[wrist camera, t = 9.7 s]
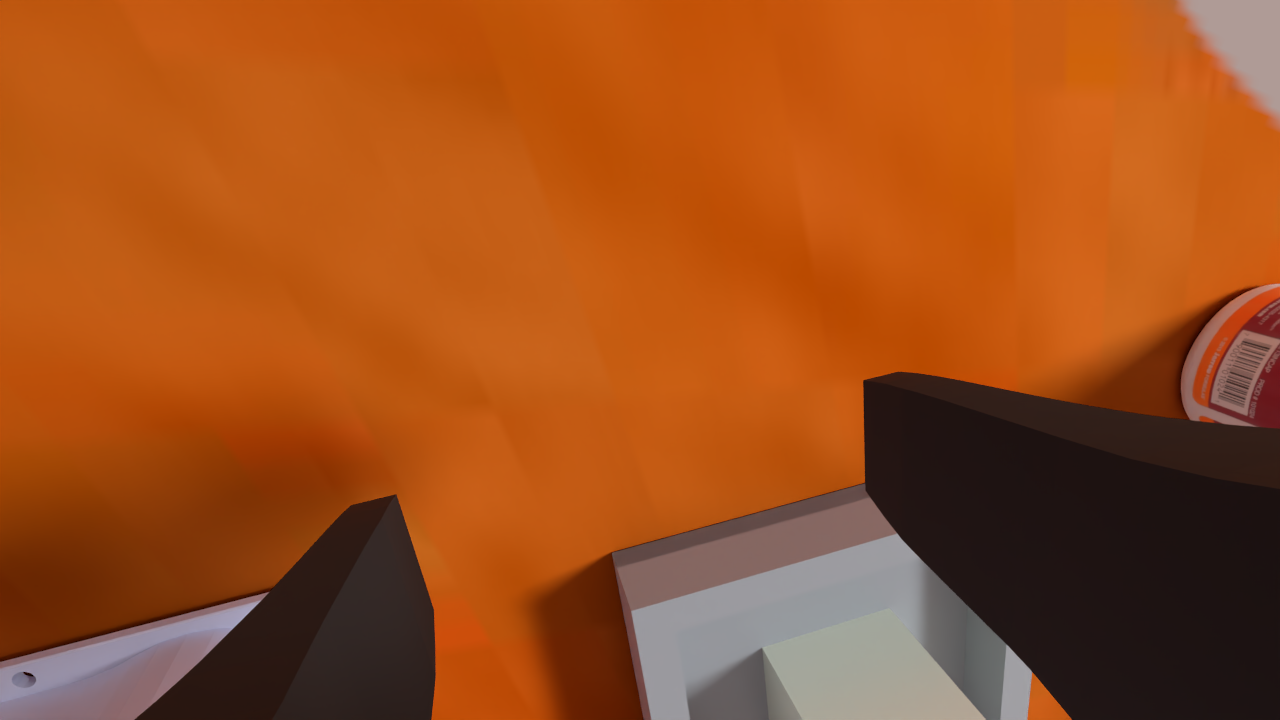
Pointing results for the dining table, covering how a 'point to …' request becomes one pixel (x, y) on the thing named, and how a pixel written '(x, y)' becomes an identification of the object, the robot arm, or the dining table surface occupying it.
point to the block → (860, 675)
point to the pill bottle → (1237, 363)
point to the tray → (791, 607)
